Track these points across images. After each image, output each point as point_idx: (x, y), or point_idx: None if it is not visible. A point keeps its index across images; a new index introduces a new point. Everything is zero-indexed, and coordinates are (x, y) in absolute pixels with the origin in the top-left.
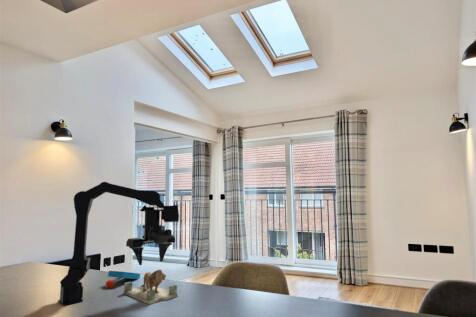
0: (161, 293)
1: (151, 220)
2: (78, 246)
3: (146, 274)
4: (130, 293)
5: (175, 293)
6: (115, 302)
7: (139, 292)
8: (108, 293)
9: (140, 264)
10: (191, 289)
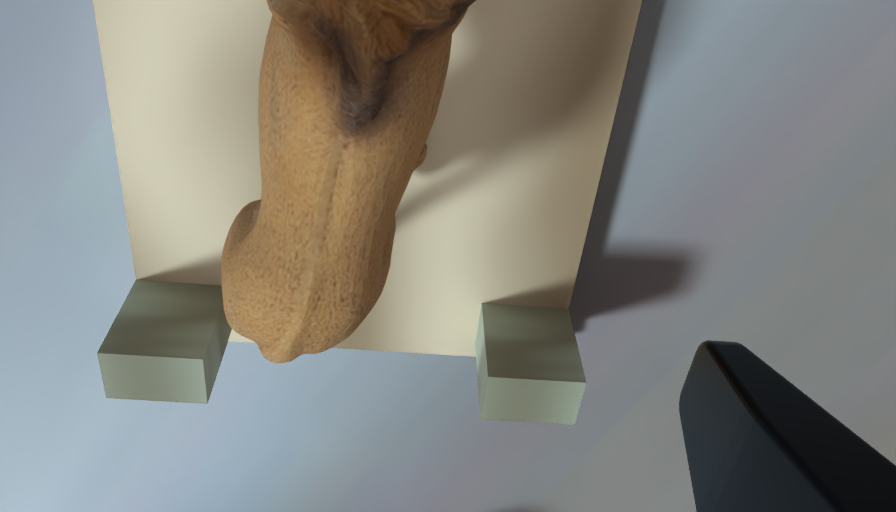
0: None
1: None
2: None
3: (366, 273)
4: (593, 203)
5: None
6: (886, 111)
7: (488, 143)
8: (648, 438)
9: (752, 360)
10: None
